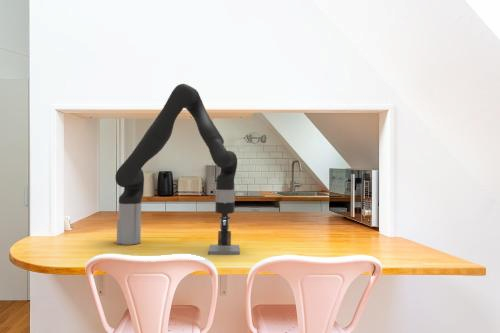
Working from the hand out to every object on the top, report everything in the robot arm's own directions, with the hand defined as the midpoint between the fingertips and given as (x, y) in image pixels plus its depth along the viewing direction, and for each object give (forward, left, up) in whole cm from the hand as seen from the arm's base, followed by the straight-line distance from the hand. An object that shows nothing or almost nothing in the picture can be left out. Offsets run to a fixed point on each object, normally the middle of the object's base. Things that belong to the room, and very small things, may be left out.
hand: (224, 243), depth 154 cm
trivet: (0, 0, -3) cm, 3 cm away
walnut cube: (0, 0, 0) cm, 0 cm away
